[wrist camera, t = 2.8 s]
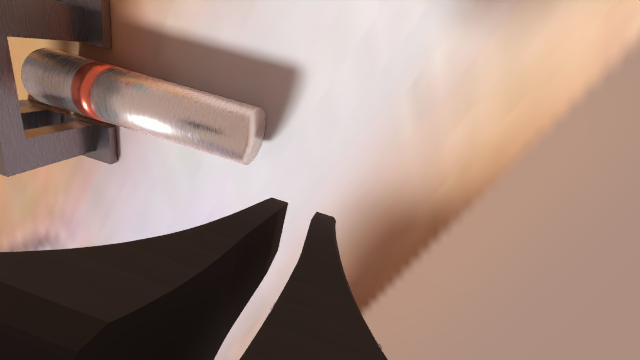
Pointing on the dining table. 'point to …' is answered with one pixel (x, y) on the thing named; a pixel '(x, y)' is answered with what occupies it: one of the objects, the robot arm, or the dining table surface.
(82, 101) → the silver cylinder
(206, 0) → the dining table surface
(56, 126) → the grey holder stand
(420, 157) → the dining table surface
